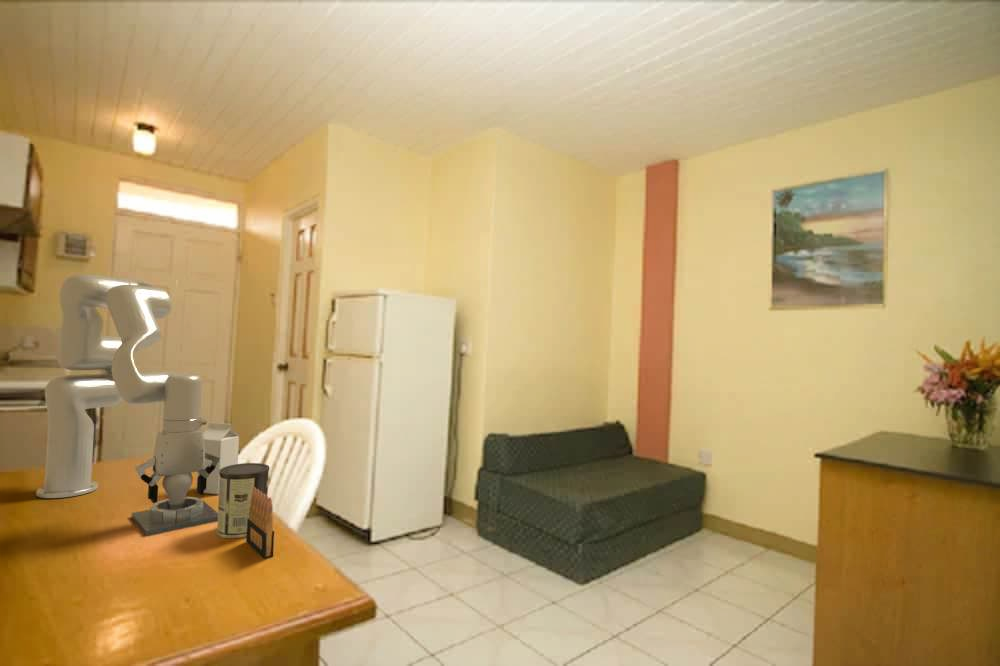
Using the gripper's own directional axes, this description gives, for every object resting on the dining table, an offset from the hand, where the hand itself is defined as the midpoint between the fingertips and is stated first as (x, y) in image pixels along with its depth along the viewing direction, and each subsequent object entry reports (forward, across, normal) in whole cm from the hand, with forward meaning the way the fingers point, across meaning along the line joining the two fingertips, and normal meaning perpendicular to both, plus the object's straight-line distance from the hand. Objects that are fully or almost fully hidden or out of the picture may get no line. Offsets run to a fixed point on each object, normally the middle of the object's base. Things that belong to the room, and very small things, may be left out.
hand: (177, 497), depth 118 cm
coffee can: (+5, -9, +16) cm, 20 cm away
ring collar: (+5, 0, 0) cm, 5 cm away
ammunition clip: (+5, -8, +30) cm, 31 cm away
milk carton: (+5, -14, -18) cm, 23 cm away
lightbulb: (+4, 0, 0) cm, 4 cm away
